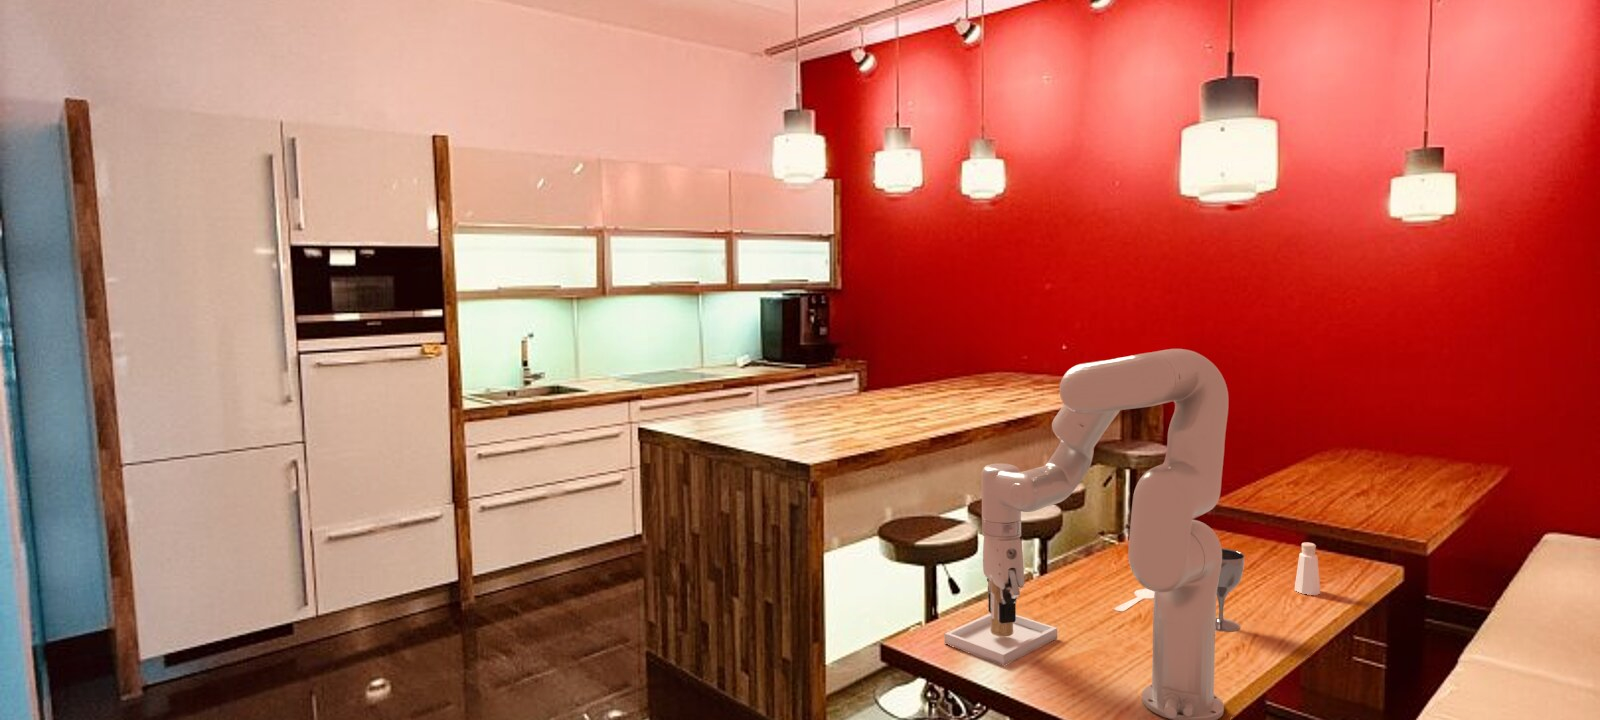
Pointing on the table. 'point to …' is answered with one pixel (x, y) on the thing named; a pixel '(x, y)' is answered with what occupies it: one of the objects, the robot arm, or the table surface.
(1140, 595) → the spoon
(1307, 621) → the table surface
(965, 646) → the tray
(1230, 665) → the table surface
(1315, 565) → the salt shaker
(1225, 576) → the wine glass
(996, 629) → the sprinkles bottle
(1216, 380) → the robot arm
